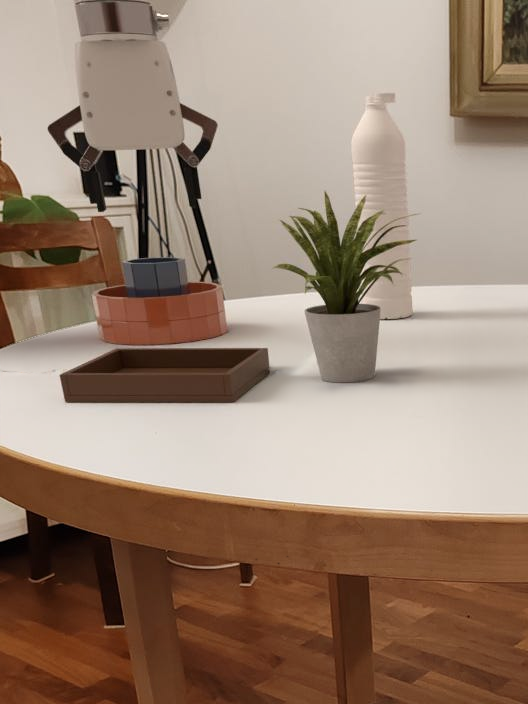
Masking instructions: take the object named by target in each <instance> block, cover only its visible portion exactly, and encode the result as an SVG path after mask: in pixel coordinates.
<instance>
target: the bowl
mask: <svg viewBox="0 0 528 704" xmlns="http://www.w3.org/2000/svg"><path fill="white" fill-rule="evenodd" d="M188 285H189V292H190V294H186V295H176V296H165V297H140V298H128V296H127V290H126V284H121V285H114V286H109V287H104V288H103V287H102V288H100V289H96V290H94V291H93V292H91V298H92V305H93V308H94V309H93V310H94V313H95V320H96V325H97V330H98V335H99V340H101V341H103V342H105V343H109V344H114V345H127V346H128V345H129V346H141V345H142V346H148V345H149V346H155V345H171V344H172V345H173V344H182V343H191V342H197V341H203V340H209V339H212V338H216V337H219V336H223V335H224V334H226V333H227V332H228V322H227V315H226V307H225V306H226V305H225V298H224V291H223V286H222V284H218V283H216V282H208V281H207V282H206V281H189V280H188Z"/></svg>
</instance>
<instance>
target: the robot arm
mask: <svg viewBox="0 0 528 704" xmlns="http://www.w3.org/2000/svg"><path fill="white" fill-rule="evenodd" d="M73 2H74V9H75V13H76V14H75V15H76V19H77V25H78V31H79V36H80V41H76V42H75V43H74V60H75V61H74V62H75V77H76V87H77V95H78V101H79V105H78V106H75V108H73V109H71V110H70V111H68V112H67V113H65V114H64V115H62V116H61V117H59V118H57V119H55V120H54V121H53V122H51V123H50V124H49V125H48V126H47V132H48V134H49V135H50V136H51V138H52V139H53V140H54V142H55V144H56V145H57V146H58V147H59V149H60V151H61V152H62V154H63V155H65V156H66V157H67V158H68V159H69V160H70V161H71V162H73V163H74V164H75V165H76V166H77V167H79V168H80V169H81V170H82V171H83V173H84V178H85V183H86V188H87V194H88V199H89V204H90V205H96V208H97V212H98V213H104V212H105V211H106V210H107V204H106V200H105V199H106V198H105V194H104V189H103V188H104V187H103V183H102V178H101V172H100V171H99V170H98V169H97V162H98V161H99V159H100V157H101V155H102V154H103V152H104V151H131V150H132V151H135V150H136V151H137V150H163V149H173V150H174V151H175V152H176V153H177V155H179V156H180V158H182V160H184V166H185V168H183V172H184V173H183V174H184V179H185V186H186V192H187V200H188V205H189V207H191V209H196V208H197V201H196V200H202V192H201V185H200V184H201V183H200V178H199V172H198V171H199V170H198V166H199V165H200V163H201V162H202V161H203V160H204V158H205V157H206V155H207V154H208V153H209V152H210V150H211V149H212V145H213V142H214V139H215V136H216V133H217V130H218V126H219V125H218V122H217V121H216V120H215V119H213V118H211V117H208V116H207V115H205V114H203V113H202V112H199V111H198V110H195V109H193V108H191V107H189V106H188V105H185V104H183V103H181V101H180V97H179V91H178V86H177V80H176V78H175V73H174V69H173V65H172V60H171V57H170V54H169V51H168V48H167V45H166V43H165V42H164V41H162V40H158V35H157V33H158V34H159V33H160V31H163V30H164V29H165V30H166V29H167V30H168V29H171V26H170V25H171V24H170V18H169V13H161V11H157V9H153V2H152V0H73ZM184 120H186V121H188V122H189V123H192V124H193V125H196V126H197V127H200V128H201V129H202V134H201V137H200V140H199V141H198V143H197V145H196V146H195V147H194V149H193V150H191V149H190V148H189V147H188V146H187V145H186V143H184V141H185V125H184ZM81 122H82V126H83V127H82V128H83V132H84V135H85V138H86V141H87V143H88V147H87V149H86V150H85V152H84V153H83V152H82V151H80V150H79V149H78V148H77V147H75V146H74V144H73V143H72V141H70V139H69V138H68V136H67V132H68V131H69V130H70V129H72V128H73V127H75V126H77V125H78V124H79V123H81Z"/></svg>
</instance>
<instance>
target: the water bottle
mask: <svg viewBox="0 0 528 704" xmlns="http://www.w3.org/2000/svg"><path fill="white" fill-rule="evenodd" d="M392 103H393V104H395V103H396V93H395V92H374V93H373V95H367V96H365V104H363V105H364V106H365V110H364V112H363V114H362V116H361V118H360V119H359V122H358V123H357V125H356V128H355V130H354V132H353V134H352V137H351V144H350V151H351V160H352V164H353V165H352V170H353V179H354V180H353V185H354V193H355V194H354V200H355V203H354V205H355V209H356V208H357V206H358V204H359V203H360V202H361V200H362V199H363V197H364V196H365V195H366V198H365V204H364V207H363V209H362V212H361V216H360V220H359V223H358V227H357V230H358V229H359V227H360V226H361V224H362V222H363V221H365V220H366V219H367V218H369V217H371V216H373V215H374V214H376V213H378V212H381V211H383V213H387V214H382V215H380V216H379V217H378V218H377V219H376V221H375V224H374V228H373V231H372V233H371V234H370V236H369V237H368V239H367V241H366V243H365V245H366V244H367V242H368V241H369V240H370V239H371V238H372V236H373V235H374V234H375V233H376V232H377V231H378V230H379V229H381V228H382V227H383V226H385V225H386V224H387V223H389V222H391V221H393V220H395V219H398V218H401V217H404V216H408V215H409V209H408V201H407V200H408V193H407V191H408V187H407V178H406V177H407V172H406V169H407V165H406V141H405V139H404V138H405V137H404V136H403V133H402V132H401V130H400V128H399V127H398V125H397V123H396V122H395V121H394V119H393V117H392V116H391V115H390V113H389V111H388V109H387V106H388V104H392ZM384 210H385V211H384ZM409 220H410V219H409V217H405V218H402V219H399V220H396V221H394V222H393V223H391V224H389V225H387V226H386V227H385V228H383V229H382V230H381V231H379V232H378V233H377V234H376V235H375V236H374V237H373V239H372V240H371V241H370V242H369V243H368V245H367V246H366V247H365V245H364V247H365V249H364V250H363V249H362V250H363V252H364V251H366V250H368V249H370V248H372V247H373V245H374V244H375V242H376V240H377V239H378V238H379V237H380V235H381V234H382V233H384V232H385V231H386V230H387V229H389V228H391V227H394V226H399V225H408V226H402V227H396V228H394V229H392V230H390V231H389V232H388V233H386V234H385V235H384V236H383V237H382V238H381V239H380V241H379V242H378V243H377V245H376V246H379V245H382V244H386V243H391V242H396V241H405V240H410V232H409V229H408V228H409V225H410V224H409V222H410V221H409ZM409 245H410V243H408V244H403V245H399V246H396V247H394V248H391V249H389V250H387V251H385V252H383V253H381V254H379V255H376V256H374V257H373V258H371V259H369V260H368V261H367V262H366V264H365V266H364V268H363V270H362V272H361V274H362V273H363V272H364V271H365V270H366V269H368V268H369V267H371V266H375V265H384V266H388V265H389V264H391V263H393V262H394V261H397V260H400V259H407V260H401V261H398V262H396V263H394V264H393V265H392V266H393V267H395V268H397V269H398V270H399V271H400V272H401V273H403V274H400V273H389V275H390V276H391V277H392V281H393V283H392V282H391V281H390V280H389V279H388V278H386V277H384V276H380V277H379V278H378V280H377V281H376V282H375V283H374V284H373V285H372V287H371V288H370V289H369V290H368V292H367V293H366V294H365V296H364V297H363V298H362V300H361V301H360V302H361V304H371V305H376V306H379V307H380V309H381V312H380V320H385V319H387V320H397V319H405V318H409V317H411V316H412V315H413V310H414V309H413V296H412V294H411V293H412V279H411V274H412V273H411V272H412V269H411V263H410V260H411V259H410V258H411V251H410V247H409ZM376 246H375V247H376ZM364 247H363V248H364ZM385 268H386V267H384V268H378V269H377V270H376V271H375V272H379V271H383V270H384V269H385ZM387 270H394V269H391V268H388V269H387ZM361 274H360V275H361ZM364 280H365V278H364V279H363V280H362V282H361V284H360V286H361V285H362V283H363V282H364ZM374 280H375V279H374ZM374 280H373V281H374ZM373 281H372V282H373ZM372 282H371V283H372ZM371 283H369V284H368V285H367V287H366V288H365V290H364V291H363V292H362V294H361V296H362V295H363V294H364V292H365V291H366V290H367V288H368V287H369V286H370V285H371ZM393 284H394V285H393Z"/></svg>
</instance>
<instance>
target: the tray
mask: <svg viewBox="0 0 528 704" xmlns="http://www.w3.org/2000/svg"><path fill="white" fill-rule="evenodd" d="M269 374H271V369H270V359H269V349H268V347H168V348H167V347H159V348H158V347H152V348H151V347H149V348H148V347H145V348H144V347H143V348H142V347H140V348H139V347H137V348H135V347H133V348H129V347H128V348H127V347H126V348H125V347H124V348H123V347H122V348H121V347H120V348H118V347H117V348H114V349H112V350H110V351H107V352H105V353H103V354H101V355H99V356H97V357H95V358H92V359H90V360H88V361H86V362H84V363H82V364H79V365H78V366H75V367H73V368H71V369H69V370H67V371H64V372H62V373H60V374H59V381H60V385H61V390H62V394H63V400H64V402H65V403H234V402H236V400H238V399H239V398H240V397H242V396H243V395H244V394H245V393H247V392H248V391H249V390H251V389H252V388H253V387H255V386H256V385H257V384H258V383H259V382H260V381H262V380H263V379H265V378H266V377H267V376H268V375H269Z"/></svg>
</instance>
